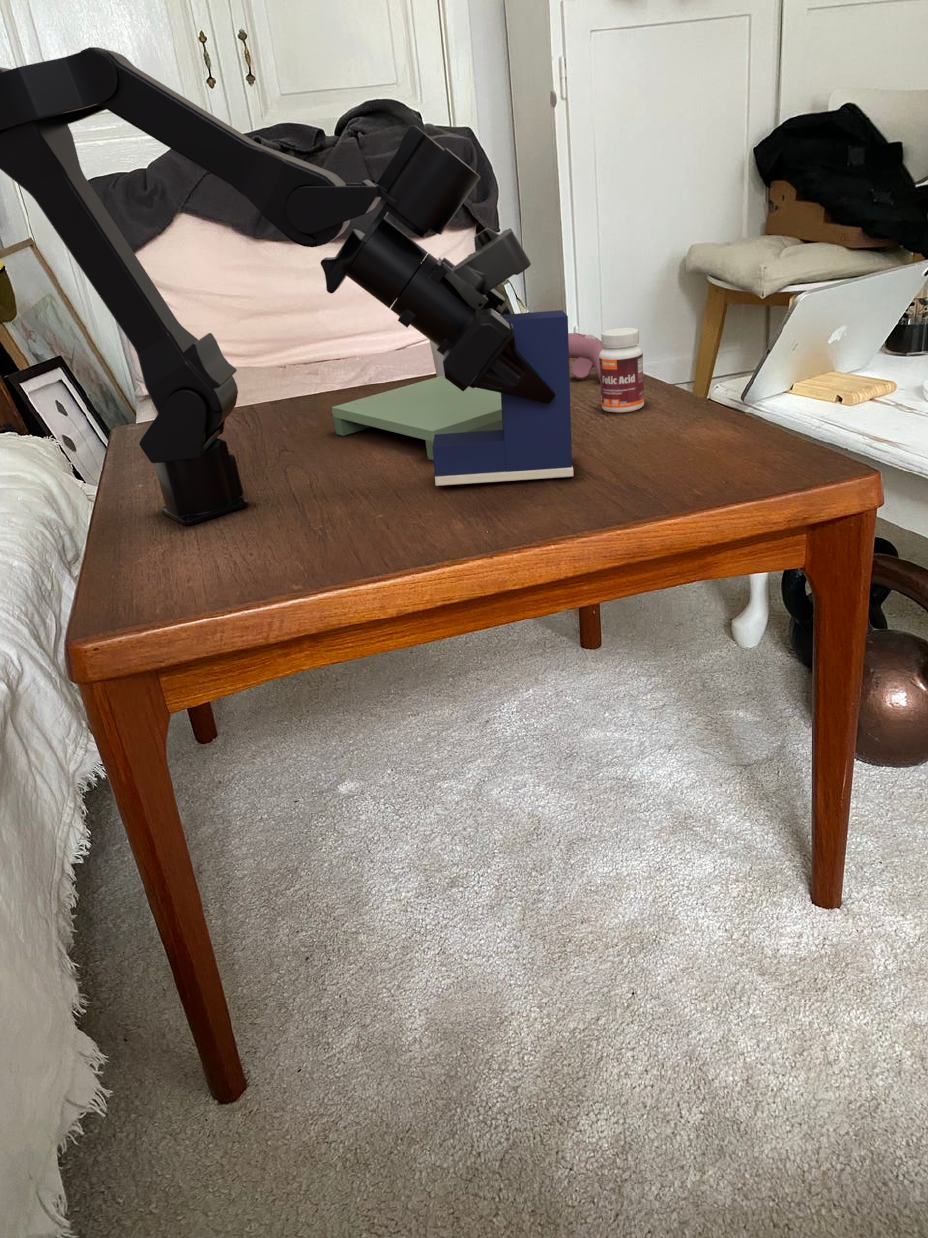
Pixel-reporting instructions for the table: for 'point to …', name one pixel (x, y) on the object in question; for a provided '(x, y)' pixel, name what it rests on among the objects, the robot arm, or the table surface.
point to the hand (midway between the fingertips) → (549, 390)
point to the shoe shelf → (423, 411)
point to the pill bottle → (621, 371)
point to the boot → (519, 417)
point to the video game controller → (584, 354)
